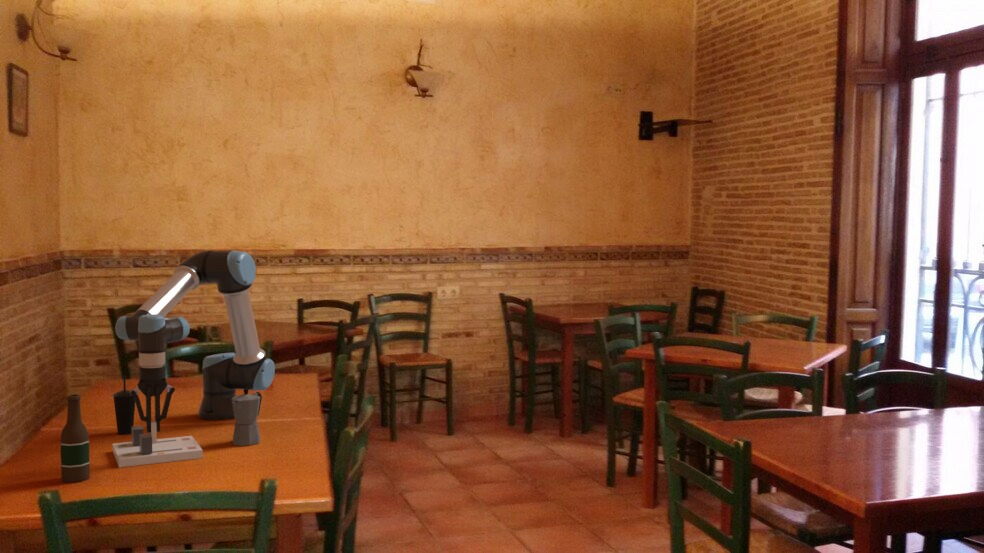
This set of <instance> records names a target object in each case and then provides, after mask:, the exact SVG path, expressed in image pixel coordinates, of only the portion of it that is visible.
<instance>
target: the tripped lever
mask: <svg viewBox="0 0 984 553" xmlns="http://www.w3.org/2000/svg"><path fill="white" fill-rule="evenodd" d="M139 438H140V452H141V454H151V453H152V436H151V435H150V433H144V434H139Z"/></svg>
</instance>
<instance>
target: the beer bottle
mask: <svg viewBox="0 0 984 553" xmlns="http://www.w3.org/2000/svg"><path fill="white" fill-rule="evenodd" d="M80 395H81V394H75V393H74V394H69V395H67V396H66V401H67V411H66V412H67V416H66V423H65V425H64V426H63V428H62V430H61V433H60V472H61V473H60V474H61V482H62V483H68V484H69V483H70V484H73V483H80V482H81V483H82V482H84V481H88V480H89V479H90V477H91V476H90V475H91V474H90V470H91V469H90V468H91V467H90V465H91V464H90V463H91V462H90V439H89V437H90V436H89V432H88V429H87V427H86V426H85V424H84V423H83V421H82V414H81V403H80V402H81V396H80Z"/></svg>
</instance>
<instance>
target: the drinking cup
mask: <svg viewBox="0 0 984 553" xmlns="http://www.w3.org/2000/svg"><path fill="white" fill-rule="evenodd" d="M122 379H123V381H122V382H123V389H121V390H118V391H116V392H114V393H112V397H113V403H114V404H113V405H114V412H115V422H116V430H117V435H123V436H124V435H125V436H126V435H130V434H131V435H132V426H135V425H134V422H135V413H136V412H135V410H136V403H135V399H134V397H133V396H132V394H131V393H130V390H131V389H127V387H126V383H127V382H126V375H125V374H123V375H122Z"/></svg>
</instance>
